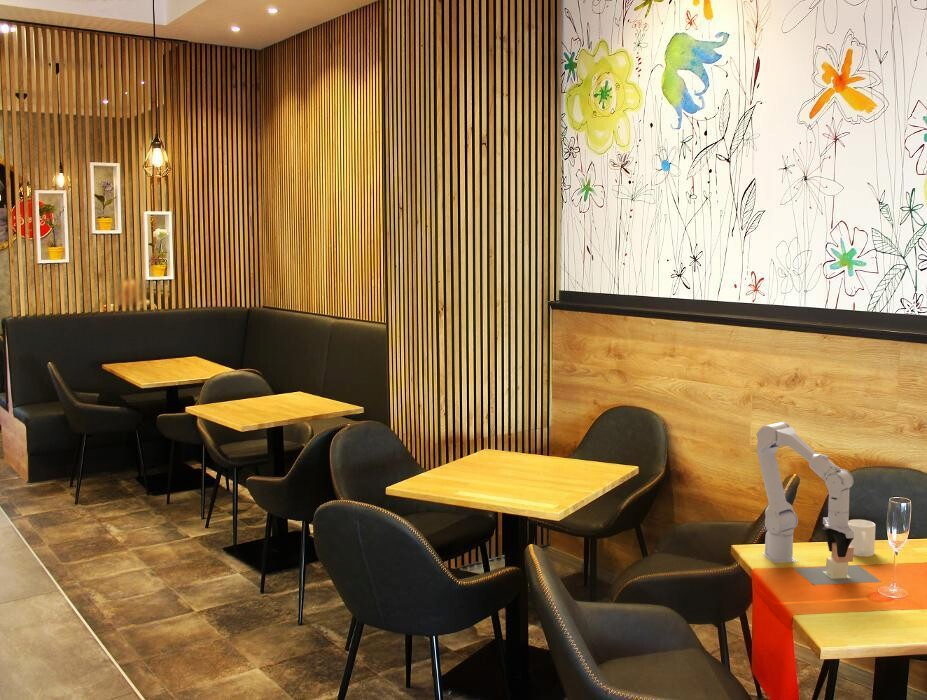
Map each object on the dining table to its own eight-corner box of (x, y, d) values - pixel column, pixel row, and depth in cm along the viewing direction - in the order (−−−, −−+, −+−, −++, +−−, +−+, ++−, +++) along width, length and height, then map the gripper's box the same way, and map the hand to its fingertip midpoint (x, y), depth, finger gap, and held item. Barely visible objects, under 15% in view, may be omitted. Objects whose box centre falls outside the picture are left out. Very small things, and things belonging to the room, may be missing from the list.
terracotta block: (831, 556, 285) (832, 542, 284) (845, 555, 285) (846, 541, 284) (838, 562, 280) (839, 548, 279) (852, 561, 281) (853, 547, 280)
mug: (878, 563, 294) (879, 531, 293) (850, 561, 296) (851, 529, 295) (872, 550, 305) (873, 520, 304) (845, 548, 307) (846, 518, 306)
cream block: (825, 571, 285) (826, 557, 284) (839, 570, 285) (840, 556, 285) (833, 577, 280) (834, 563, 280) (847, 576, 281) (848, 562, 280)
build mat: (793, 569, 289) (793, 567, 289) (858, 566, 291) (858, 564, 291) (813, 586, 275) (813, 584, 275) (881, 583, 277) (881, 581, 277)
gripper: (814, 504, 287) (812, 546, 289) (838, 518, 273) (837, 562, 275) (835, 503, 288) (834, 545, 290) (861, 517, 274) (859, 561, 275)
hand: (837, 553), depth 282 cm, fingers closed on terracotta block, 4 cm apart
